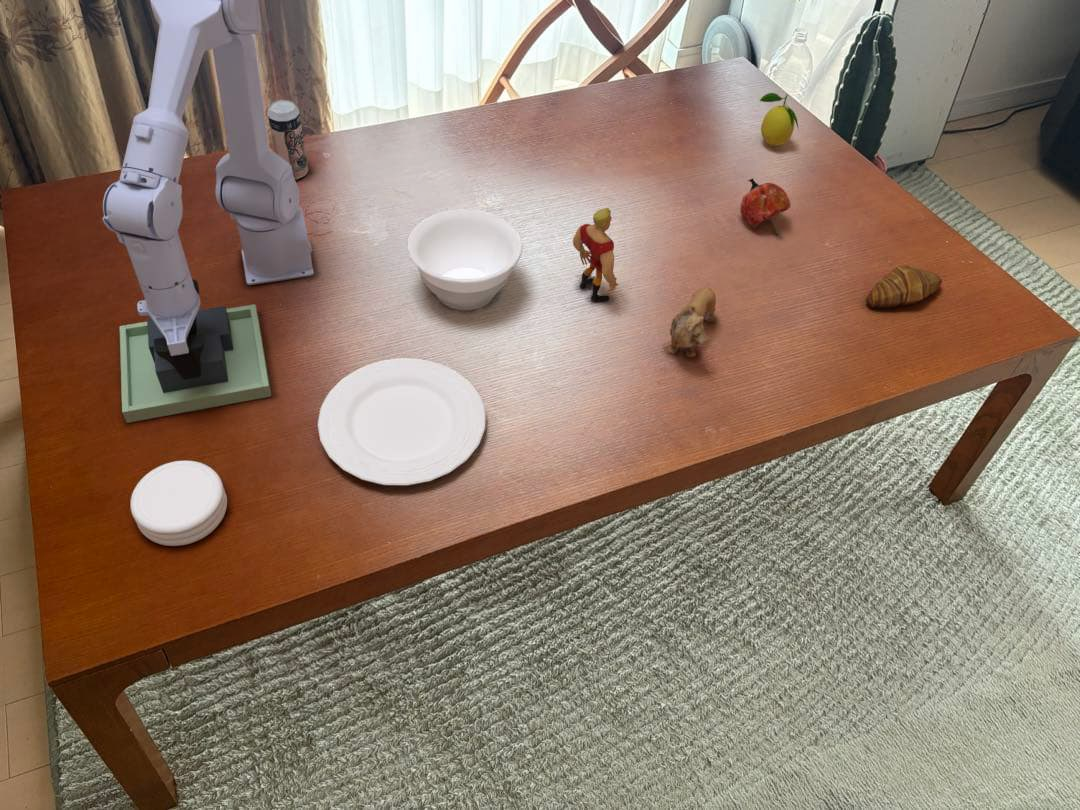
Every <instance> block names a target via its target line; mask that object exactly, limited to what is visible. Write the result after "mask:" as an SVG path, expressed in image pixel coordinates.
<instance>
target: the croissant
mask: <svg viewBox="0 0 1080 810" xmlns="http://www.w3.org/2000/svg"><path fill="white" fill-rule="evenodd" d="M942 282H943V279H942V277H941V276H940V275H939V274H938V273H937V274H936V273H935V272H932V271H930V270H926V269H921V268H913V267H912V266H910V265H899V266H897V267H895V268H893V269H892V270H890V271H889V272H888V273H886V274H885V275H884V276H883V277H882V279H881V280H880V281H878V282H876V284H875V285H874V286H873V288H872V289H871V290H870V292H869V294H867V295H868V296H867V297H866V299H865V303H866V305H867V306H868V307H870V308H871V309H893V308H895V307H905V306H911V305H914V304H916V303H917V302H920V301H922V300H924V299H926V298H927V297H929V296H931V295H933V294H934V293H935V292H936V291H937V290H938V289H939V288H940V286H941V285H942Z"/></svg>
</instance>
